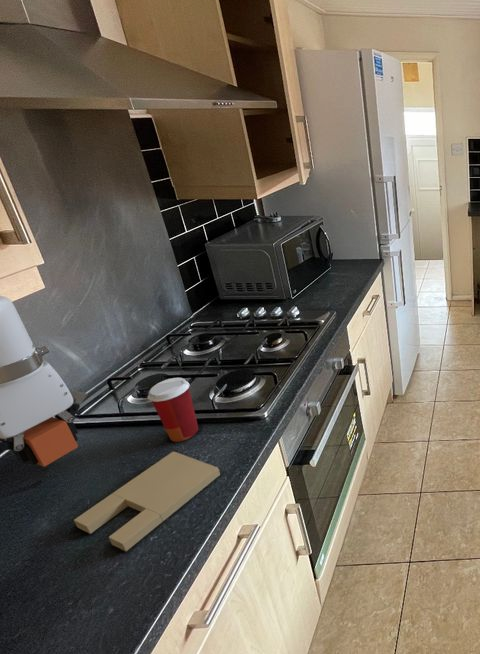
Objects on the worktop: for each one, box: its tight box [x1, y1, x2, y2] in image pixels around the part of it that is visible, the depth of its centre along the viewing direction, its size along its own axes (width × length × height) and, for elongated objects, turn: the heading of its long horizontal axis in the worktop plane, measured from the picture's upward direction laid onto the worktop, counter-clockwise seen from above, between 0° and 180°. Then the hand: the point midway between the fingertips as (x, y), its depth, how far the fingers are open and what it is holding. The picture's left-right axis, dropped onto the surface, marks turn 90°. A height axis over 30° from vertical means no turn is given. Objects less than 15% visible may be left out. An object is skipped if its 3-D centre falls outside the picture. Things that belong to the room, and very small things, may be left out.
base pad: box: [73, 451, 221, 552], centre depth 84 cm, size 18×14×2 cm
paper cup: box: [147, 377, 199, 443], centre depth 99 cm, size 8×8×14 cm
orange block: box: [24, 416, 79, 467], centre depth 76 cm, size 5×5×6 cm
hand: (51, 449), depth 76 cm, fingers closed on orange block, 5 cm apart
